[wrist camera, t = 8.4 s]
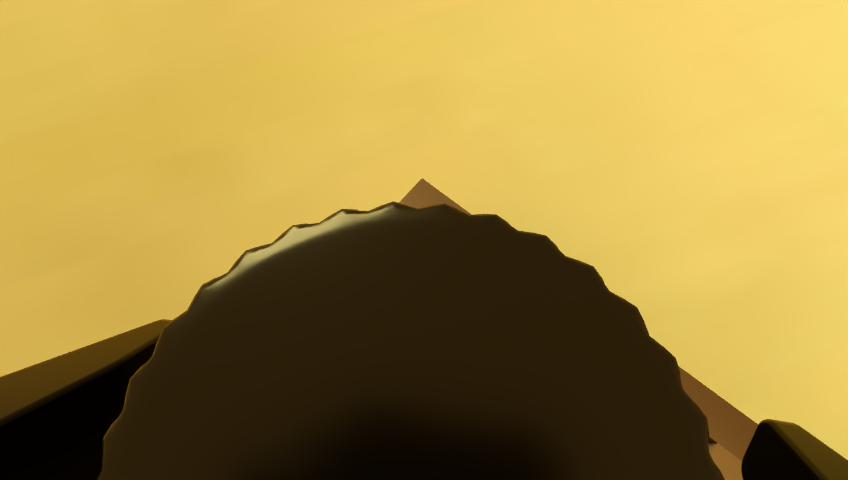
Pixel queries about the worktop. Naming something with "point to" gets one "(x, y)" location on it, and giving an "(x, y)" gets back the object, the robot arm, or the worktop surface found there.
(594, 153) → the worktop surface
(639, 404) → the supplement bottle
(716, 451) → the walnut tray
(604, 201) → the worktop surface
